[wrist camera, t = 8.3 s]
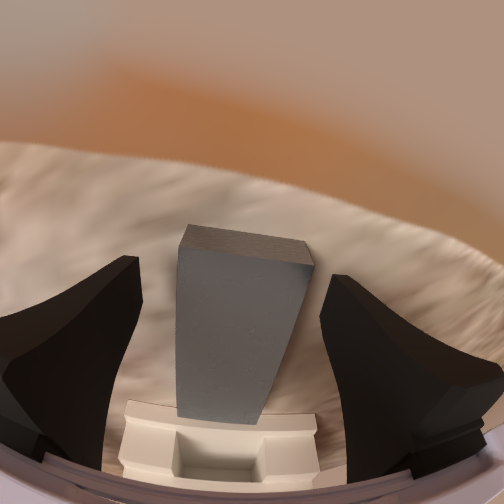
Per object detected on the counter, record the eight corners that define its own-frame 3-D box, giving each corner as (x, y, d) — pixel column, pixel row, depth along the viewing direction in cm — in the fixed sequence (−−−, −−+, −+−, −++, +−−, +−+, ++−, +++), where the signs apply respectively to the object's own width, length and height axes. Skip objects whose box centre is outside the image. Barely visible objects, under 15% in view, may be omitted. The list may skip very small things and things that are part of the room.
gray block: (182, 386, 18) (177, 416, 16) (190, 220, 12) (178, 246, 10) (254, 394, 18) (256, 425, 16) (302, 236, 13) (314, 265, 11)
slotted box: (280, 467, 25) (284, 512, 20) (152, 458, 24) (146, 502, 19) (314, 413, 19) (326, 479, 14) (128, 399, 18) (111, 465, 13)
